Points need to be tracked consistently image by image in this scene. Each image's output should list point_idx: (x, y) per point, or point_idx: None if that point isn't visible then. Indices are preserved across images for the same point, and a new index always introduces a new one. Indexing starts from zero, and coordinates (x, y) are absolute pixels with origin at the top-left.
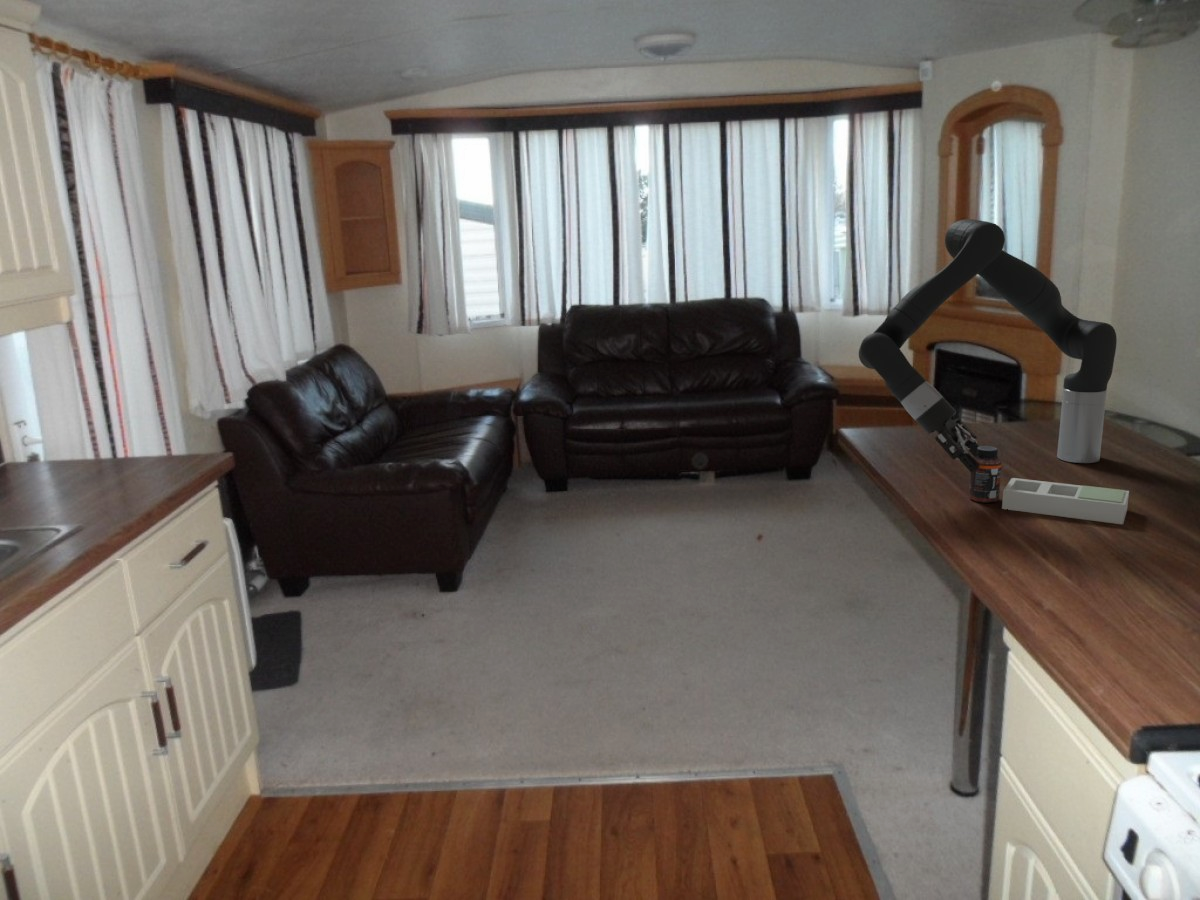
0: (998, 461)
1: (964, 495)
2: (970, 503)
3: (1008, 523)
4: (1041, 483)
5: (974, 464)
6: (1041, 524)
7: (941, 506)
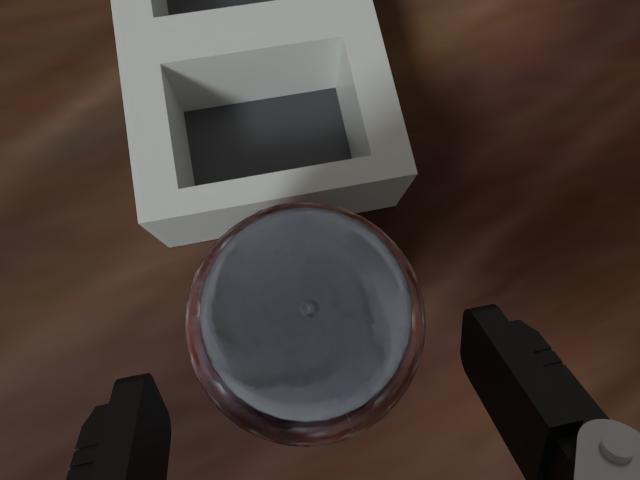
0: (325, 206)
1: None
2: None
3: (559, 119)
4: (166, 62)
5: (525, 334)
6: (484, 22)
7: None
